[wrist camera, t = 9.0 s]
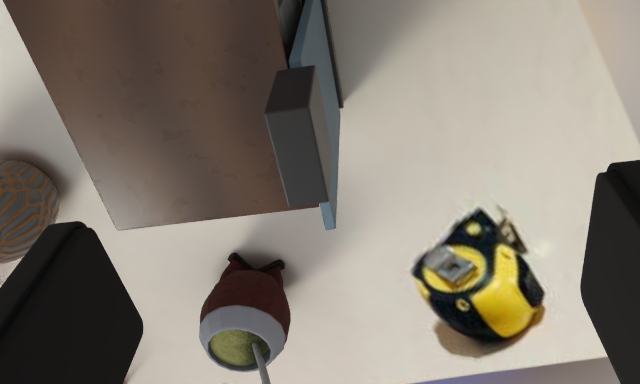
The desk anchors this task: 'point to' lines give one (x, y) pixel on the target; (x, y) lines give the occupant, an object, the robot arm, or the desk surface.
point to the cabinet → (169, 99)
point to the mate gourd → (246, 317)
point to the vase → (24, 207)
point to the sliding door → (307, 119)
